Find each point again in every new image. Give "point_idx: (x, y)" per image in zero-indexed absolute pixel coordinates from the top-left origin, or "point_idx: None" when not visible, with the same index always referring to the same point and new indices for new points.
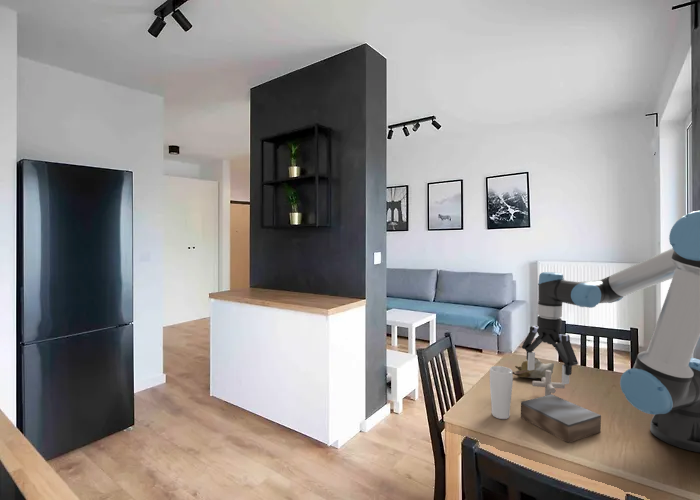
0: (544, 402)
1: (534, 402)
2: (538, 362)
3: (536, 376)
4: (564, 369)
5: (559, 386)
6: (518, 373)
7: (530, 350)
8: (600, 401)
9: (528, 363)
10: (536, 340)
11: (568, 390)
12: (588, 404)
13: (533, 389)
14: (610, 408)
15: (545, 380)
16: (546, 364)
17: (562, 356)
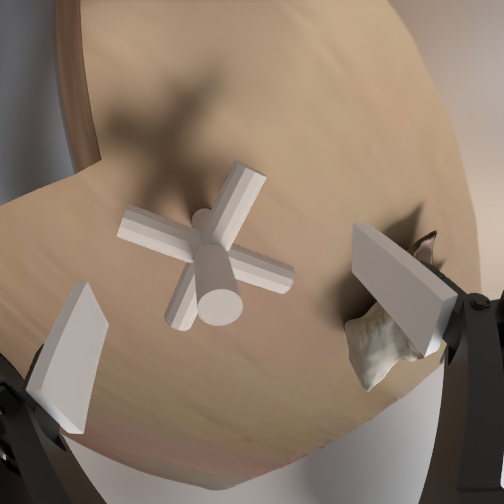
0: (5, 69)
1: (22, 18)
2: (406, 349)
3: (376, 304)
4: (40, 364)
5: (173, 295)
6: (422, 255)
7: (459, 331)
8: (155, 377)
9: (389, 244)
10: (483, 483)
11: (257, 347)
12: (132, 335)
13: (313, 228)
14: (104, 368)
15: (219, 250)
16: (382, 368)
17: (29, 466)
